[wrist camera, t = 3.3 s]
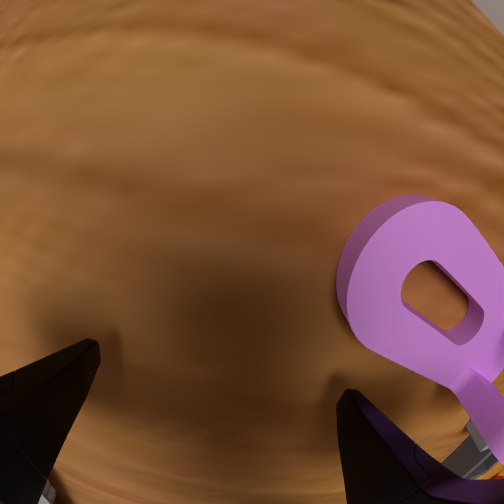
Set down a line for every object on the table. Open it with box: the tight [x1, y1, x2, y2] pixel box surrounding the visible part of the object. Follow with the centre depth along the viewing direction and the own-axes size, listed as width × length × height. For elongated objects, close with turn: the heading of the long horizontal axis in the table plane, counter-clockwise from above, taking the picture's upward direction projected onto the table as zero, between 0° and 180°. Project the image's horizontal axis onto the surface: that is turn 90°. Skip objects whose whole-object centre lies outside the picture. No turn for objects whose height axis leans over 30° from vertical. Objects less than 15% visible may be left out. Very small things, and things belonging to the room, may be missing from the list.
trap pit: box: [441, 435, 499, 480], centre depth 13 cm, size 8×8×3 cm
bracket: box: [336, 195, 504, 465], centre depth 6 cm, size 13×6×7 cm, turn 58°
